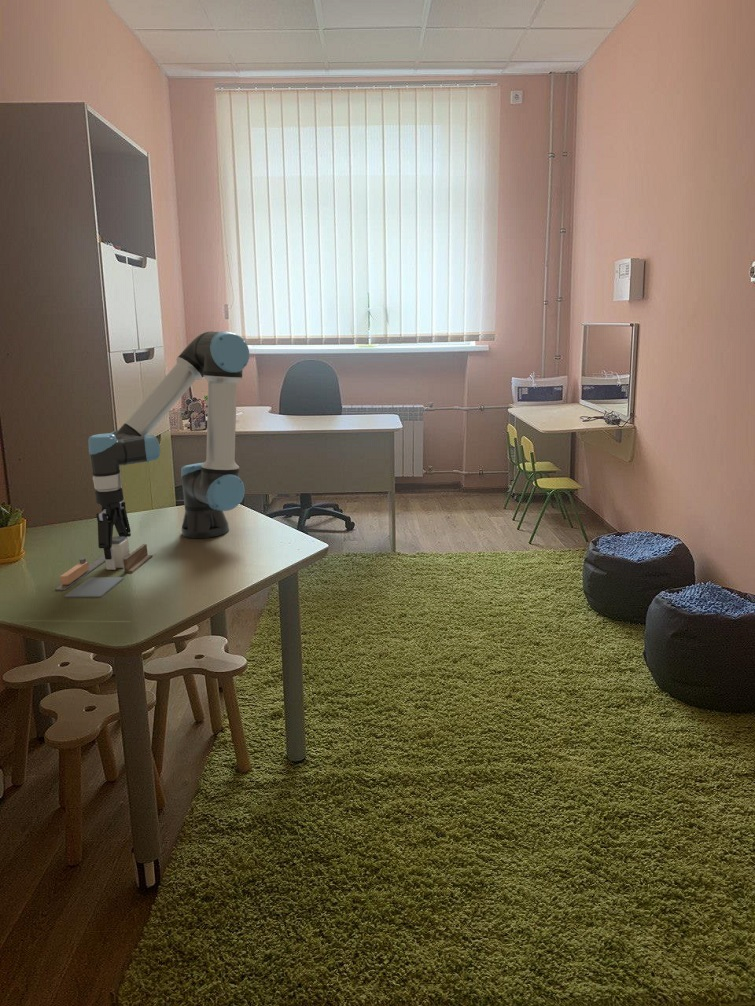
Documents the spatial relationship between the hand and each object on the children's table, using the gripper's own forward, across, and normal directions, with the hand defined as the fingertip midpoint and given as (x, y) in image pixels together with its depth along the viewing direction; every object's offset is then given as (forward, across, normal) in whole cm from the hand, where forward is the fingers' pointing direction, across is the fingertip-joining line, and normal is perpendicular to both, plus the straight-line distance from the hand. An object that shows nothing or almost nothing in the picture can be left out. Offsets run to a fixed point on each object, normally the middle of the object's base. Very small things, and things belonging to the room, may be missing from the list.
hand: (118, 563), depth 232 cm
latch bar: (0, +12, -7) cm, 14 cm away
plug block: (0, 0, 0) cm, 0 cm away
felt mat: (0, +19, +2) cm, 19 cm away
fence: (0, 0, +6) cm, 6 cm away
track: (0, +7, -7) cm, 10 cm away
